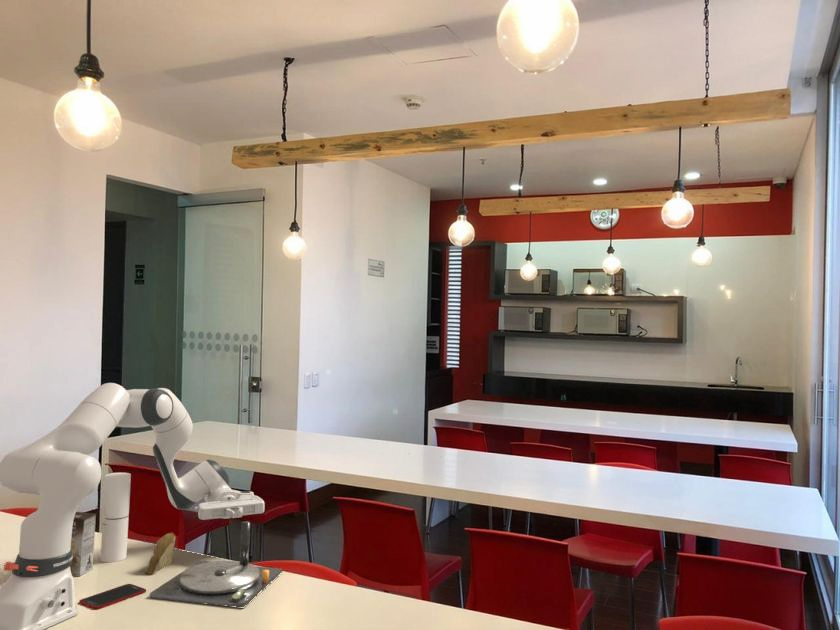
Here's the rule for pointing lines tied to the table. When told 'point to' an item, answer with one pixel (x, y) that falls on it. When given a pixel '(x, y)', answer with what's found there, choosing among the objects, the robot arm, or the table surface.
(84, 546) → the coffee box
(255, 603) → the table surface
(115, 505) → the cylindrical container
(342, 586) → the table surface
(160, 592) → the grey square base plate
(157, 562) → the rock
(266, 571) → the level mark
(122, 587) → the cell phone
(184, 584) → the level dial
